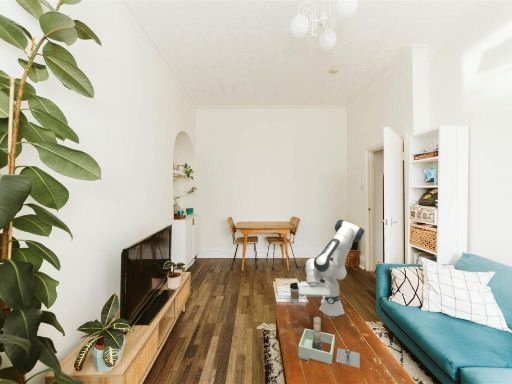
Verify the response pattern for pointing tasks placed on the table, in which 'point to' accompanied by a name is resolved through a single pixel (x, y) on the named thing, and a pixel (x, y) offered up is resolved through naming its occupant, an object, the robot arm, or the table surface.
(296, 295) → the coffee cup
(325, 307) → the robot arm
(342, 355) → the stud plate
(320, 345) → the strut
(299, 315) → the table surface
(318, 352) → the bin
